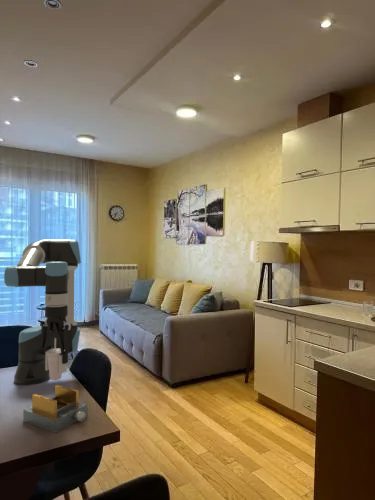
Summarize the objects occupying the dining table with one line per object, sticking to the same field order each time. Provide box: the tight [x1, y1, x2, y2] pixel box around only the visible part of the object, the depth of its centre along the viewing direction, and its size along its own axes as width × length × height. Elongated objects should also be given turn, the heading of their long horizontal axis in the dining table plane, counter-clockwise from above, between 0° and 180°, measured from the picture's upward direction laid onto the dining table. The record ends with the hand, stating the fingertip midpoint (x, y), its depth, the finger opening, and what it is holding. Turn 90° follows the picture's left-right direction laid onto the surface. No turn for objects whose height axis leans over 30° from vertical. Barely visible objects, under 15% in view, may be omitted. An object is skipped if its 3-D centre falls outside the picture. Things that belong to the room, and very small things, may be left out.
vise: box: [22, 384, 88, 434], centre depth 124 cm, size 19×14×9 cm
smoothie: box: [46, 338, 65, 381], centre depth 124 cm, size 6×6×14 cm
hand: (56, 370), depth 124 cm, fingers closed on smoothie, 6 cm apart
